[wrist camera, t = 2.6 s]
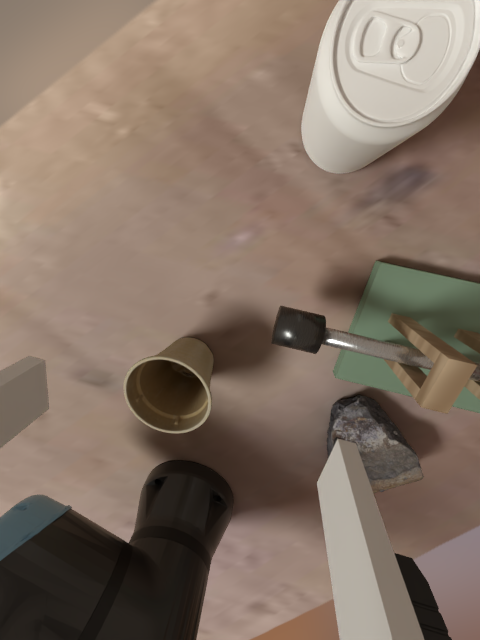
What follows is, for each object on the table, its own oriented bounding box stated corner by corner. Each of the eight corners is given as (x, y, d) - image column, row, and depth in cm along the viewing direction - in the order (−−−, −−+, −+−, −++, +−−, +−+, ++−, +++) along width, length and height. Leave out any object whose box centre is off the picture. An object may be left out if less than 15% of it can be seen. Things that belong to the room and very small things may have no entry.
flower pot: (217, 320, 32) (198, 351, 24) (233, 384, 35) (220, 431, 27) (149, 329, 34) (110, 362, 26) (169, 390, 37) (139, 436, 29)
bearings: (375, 349, 29) (421, 407, 20) (391, 313, 28) (448, 358, 19) (456, 368, 29) (541, 436, 20) (477, 332, 27) (580, 389, 18)
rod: (272, 323, 29) (270, 356, 22) (280, 292, 28) (281, 317, 21) (495, 375, 28) (573, 430, 21) (515, 346, 27) (605, 393, 19)
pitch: (332, 371, 33) (335, 378, 31) (375, 260, 28) (381, 262, 26) (513, 415, 32) (524, 423, 30) (593, 307, 26) (610, 312, 25)
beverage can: (372, 182, 25) (448, 150, 14) (290, 166, 26) (301, 122, 15) (408, 78, 22) (540, -67, 11) (315, 61, 23) (352, -94, 12)
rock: (423, 452, 35) (447, 490, 30) (351, 485, 39) (362, 524, 34) (359, 381, 33) (374, 409, 28) (289, 423, 37) (291, 455, 32)
